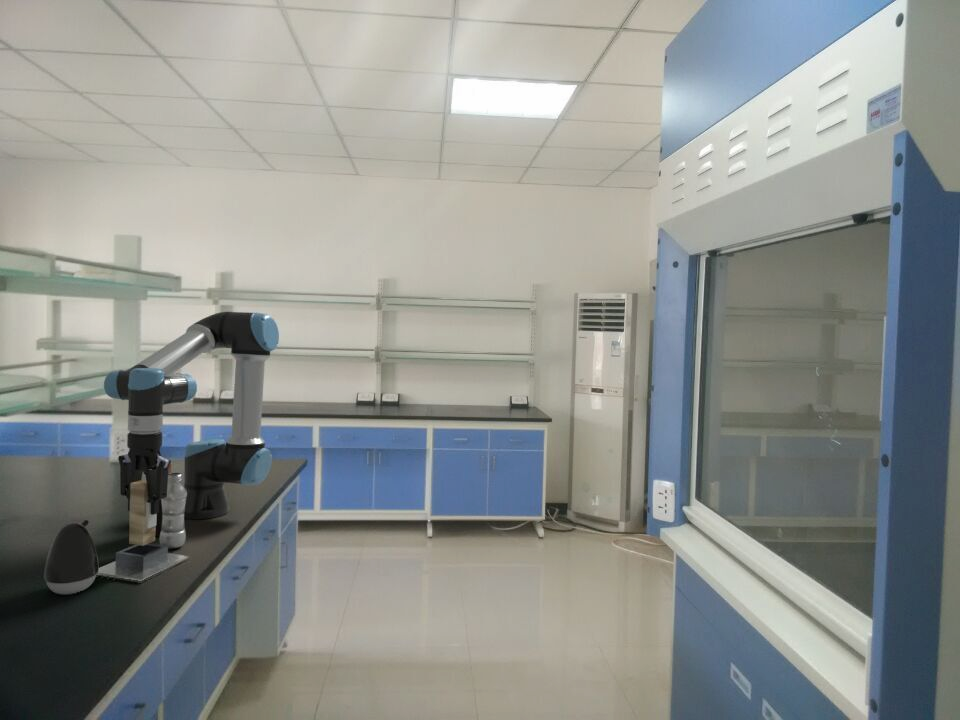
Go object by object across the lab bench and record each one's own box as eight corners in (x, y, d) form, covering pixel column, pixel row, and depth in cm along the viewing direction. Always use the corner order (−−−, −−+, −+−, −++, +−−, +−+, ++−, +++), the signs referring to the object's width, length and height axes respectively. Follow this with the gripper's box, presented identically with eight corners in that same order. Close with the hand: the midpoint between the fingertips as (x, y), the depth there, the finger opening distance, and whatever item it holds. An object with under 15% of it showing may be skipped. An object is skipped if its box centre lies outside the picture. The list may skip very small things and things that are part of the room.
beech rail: (141, 538, 155) (143, 479, 154) (155, 540, 154) (156, 481, 153) (129, 543, 151) (130, 483, 150) (142, 545, 150) (144, 484, 149)
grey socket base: (143, 552, 162) (143, 535, 162) (188, 560, 159) (189, 542, 159) (91, 575, 147) (91, 556, 147) (140, 583, 143) (141, 564, 143)
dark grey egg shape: (108, 581, 144) (109, 516, 144) (80, 600, 134) (82, 531, 133) (63, 579, 144) (64, 515, 143) (32, 598, 134) (33, 529, 133)
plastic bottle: (178, 541, 172) (180, 470, 171) (190, 547, 168) (192, 474, 167) (154, 546, 167) (156, 473, 166) (165, 553, 163) (167, 478, 162)
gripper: (103, 430, 150) (101, 525, 151) (163, 436, 146) (160, 534, 147) (128, 426, 157) (126, 517, 158) (185, 432, 153) (183, 525, 154)
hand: (142, 525), depth 152 cm, fingers closed on beech rail, 4 cm apart
